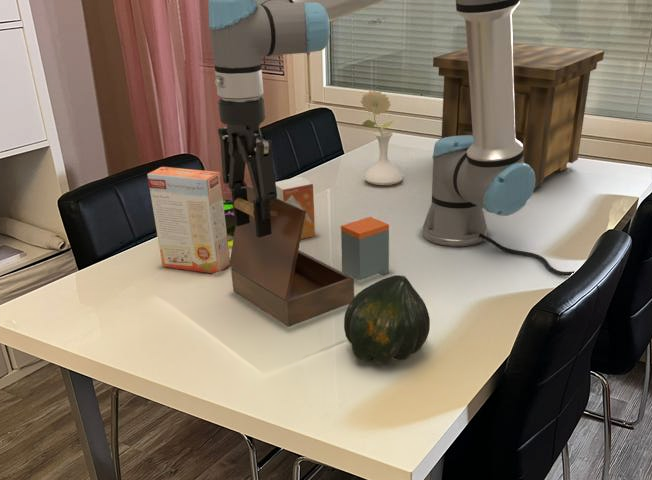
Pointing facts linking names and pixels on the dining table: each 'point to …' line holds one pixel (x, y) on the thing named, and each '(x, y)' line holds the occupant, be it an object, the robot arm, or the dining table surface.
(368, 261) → the container
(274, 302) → the chest
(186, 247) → the cracker box
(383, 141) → the flower in vase
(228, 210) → the toy cauldron
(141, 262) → the dining table surface
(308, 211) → the small box
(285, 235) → the chest lid
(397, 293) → the squash
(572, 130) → the wooden drawer cabinet
